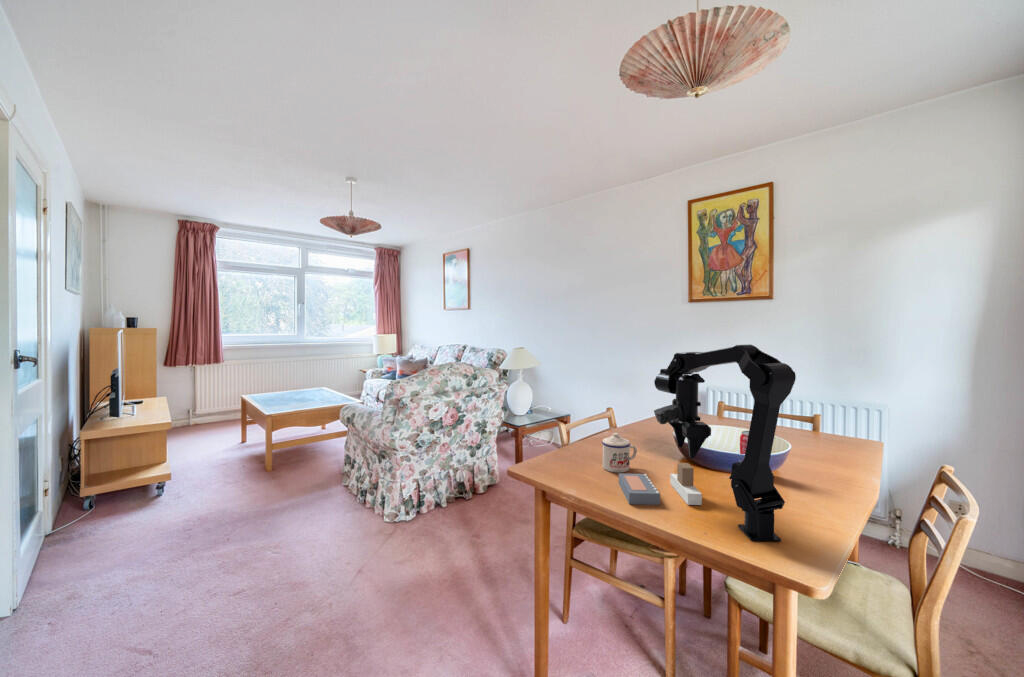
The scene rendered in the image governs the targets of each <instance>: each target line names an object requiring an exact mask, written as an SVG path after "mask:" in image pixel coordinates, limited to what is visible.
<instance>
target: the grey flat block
mask: <svg viewBox="0 0 1024 677" xmlns="http://www.w3.org/2000/svg"><path fill="white" fill-rule="evenodd" d="M618 485H619V486H620V488H621V491H622V493H623V494H624V497H625V498H626V501H627V502H628V504H629V505H643V506H644V505H646V506H647V505H648V506H650V505H652V506H660V505H661V494H660V493H661V492H659V491H658V489H657V487H656V486H655V485H654V483H653V481H651V479H650V478H649V477H648V475H647V474H646V473H625V472H622V473H618Z"/></svg>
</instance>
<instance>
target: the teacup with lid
mask: <svg viewBox="0 0 1024 677" xmlns="http://www.w3.org/2000/svg"><path fill="white" fill-rule="evenodd" d="M601 444H602V468H603V469H604V471H608V472H610V473H618V474H619V473H625V472H628V471H629V470H630V461H632V460H634V459H635V458H636V456H637V452H638V450H637V447H636V446H635V445H633V444H631V442H630V440H628V439H627V438H624V437H622V436H620V433H618V432H614V433H612V435H610V436H608V437H605V438H603V439H602V441H601ZM630 449H633V453H632V455H631V454H630V452H631V450H630ZM630 455H631V456H630Z"/></svg>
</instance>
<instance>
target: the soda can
mask: <svg viewBox="0 0 1024 677" xmlns="http://www.w3.org/2000/svg"><path fill="white" fill-rule="evenodd" d="M748 435H749V430H743V431H741V434H740V436H739V455H740V454H745V451H746V446H747V440H748Z"/></svg>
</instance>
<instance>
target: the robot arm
mask: <svg viewBox="0 0 1024 677" xmlns="http://www.w3.org/2000/svg"><path fill="white" fill-rule="evenodd" d="M733 363H734V364H735V363H736V364H737V365H738V367H739V369H740V372H741V373H742V374H743V375H744V376H745V377H746V378H748V380H749V391H750V393H751V395H752V398H753V400H754V402H753V407H752V413H751V414H752V415H751V418H750V425H749V430H748V431H749V435H748V440H747V446H746V451H745V457H744V459H743V461H742V462H740V461H738V462H732V465H731V474H730V476H729V477H728V478H729V479H728V480H730V487H731V489H732V492H733V496H734V499H735V504H736V506H737V507H738V508H740V509H741V511H742V512H744V524H740V523H739V524H737V527H738V529H739V530H740V531H741V532H742V533H743V534H744V535H745V536H746V537H747V538H748V539H749V540H750V541H752V542H782V538H781V537H780V536H778V535H777V534H776V533H775V510H782V509H783V507H784V505H785V503H786V501H785V500H784V498H783V497H782V495H781V494H780V492H779V491H778V489H777V488H776V487H775V483H774V482H775V480H774V479H775V475H774V473H773V470H772V468H771V467H770V459H771V455H772V452H773V451H772V450H773V445H774V440H775V435H776V429H777V424H778V419H779V416H780V415H779V414H780V411H781V410H780V409H781V406H782V405H783V402H784V401H785V400H786V399H787V397H788V396H789V395H790V394H791V392H792V389H793V387H794V385H795V382H796V379H797V378H796V377H797V376H796V375H797V374H796V372H795V371H794V370H793V368H792V367H791V366H790V365H789V364H786V363H783V362H781V361H780V360H779V359H778V358H776V357H774V356H772V355H770V354H768V353H765V352H764V351H762V350H761V349H759V348H758V347H757V346H755V345H754V344H735V345H734V346H731V347H724V348H720V349H714V350H709V351H704V352H703V351H684V352H676V353H674V354H673V358H672V360H671V361H670V363H669V365H668V366H667V368H660V369H659V370H660V371H659V372H660V373H658V374H657V375H656V377H655V378H654V380H653V382H654V387H655V388H656V389H657V391H660V392H663V393H667V394H670V395H671V394H672V395H675V398H673V399H672V401H671V402H672V403H671V404H669V405H665V406H662V407H660V408H657V409H655V410H653V413H654V416H655V419H656V421H657V422H658V423H659V424H660V425H665V424H667V423H668V424H669V425H670V426H671V427H672V428H673V432H674V437H675V440H676V443H677V445H676V446H677V447H678V448H683V446H684V444H685V441H686V440H687V448H688V455H689V458H690V459H694V458H696V456H697V455H698V453H699V450H700V449H701V447H702V446H703V444H704V442H705V441H706V440H707V439H708V438H709V437H711V436H712V427H711V426H710V425H709V424H707V423H706V422H704V421H701V417H700V416H699V413H698V412H699V407H701V406H702V404H701V402H700V401H699V384H701V383H703V384H704V383H705V381H706V380H705V379H704V378H703V377H702V376H701V375H700V374H699V372H702V371H705V370H706V369H708V368H710V367H713V366H720V365H728V364H733Z"/></svg>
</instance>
